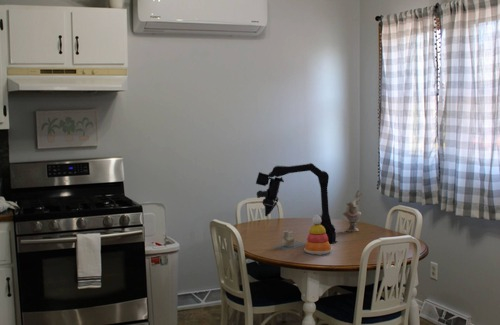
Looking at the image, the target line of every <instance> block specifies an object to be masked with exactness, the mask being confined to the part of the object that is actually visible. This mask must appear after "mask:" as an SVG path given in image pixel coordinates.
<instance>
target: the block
mask: <svg viewBox="0 0 500 325" xmlns="http://www.w3.org/2000/svg"><path fill="white" fill-rule="evenodd" d="M294 232H295V231H291V230H282V245H283V246H284V247H289V248H290V247H294V242H295V233H294Z"/></svg>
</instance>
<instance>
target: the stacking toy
mask: <svg viewBox="0 0 500 325" xmlns="http://www.w3.org/2000/svg"><path fill="white" fill-rule="evenodd" d="M319 215H320V214H319ZM319 215H318V214H314V216H313V217H312V223H313V224H312V225H311V226H310V228H309V230H308V235H307V239H306V240H307V242H305V243H306V245H305V247H304V248H303V249H304V251H305V253H306V254H307V253H308V254H310V255H318V256H322V255H326V254H329V253H331V252H332V250H333V248H332V246H331V244H330V243H329V242H328V236H327V234H326V230H325V228H324V227H323V226H322V225H320V223H321V221H322V220H321V217H320V216H319Z"/></svg>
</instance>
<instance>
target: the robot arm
mask: <svg viewBox="0 0 500 325" xmlns="http://www.w3.org/2000/svg"><path fill="white" fill-rule="evenodd" d="M302 172H311V173H313V174H314V175H315V176H316V177H317V180H318V184H319V188H320V189H319V190H320V202H321V215H320V214H319V216H320V217H321V220H322V221H321V223H320V225H322V226H323V227H324V228H325V230H326V234H327V236H328V242H329V243H330V245H331V244H332V245H333V244H335V243H336V244H337V243H338V241H337V239H336V237H337V236H336V234H337V233H336V232H337V231H336V227H335V226H334V224H332V220H331V216H330V211H329V196H328V195H329V194H328V193H329V192H328V185H329V179H330V177H329V173H328V172H327V171H325V170H321V169H320V168H318V167H317V166H316V165H315V164H314V163H313V162H309V163H304V164H296V165H288V166H287V165H274V167H273V168H272V171H270V172H269V173H268V174H267V173H263V172H262V171H261V172H260V171H259V172H258V175H257V177H256V180H255V181H256V182H255V185H258V186H264V187H266V186H267V185H268V188H267V189H266V190H262V189H261V190H258V191H256V198H257V199H259V198H263V199H262V205H263V206H264V216H265V217H268V216H269V215H270V214H271V213H272V212H273V209H274V208H275V207H276V205H277V204H278V202H279V200H280V198H279V197H278V193H279V190H280V184H281V183H284V182H285V180H284V178H283V177H282V176H285V175H288V174H294V173H302Z"/></svg>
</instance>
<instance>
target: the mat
mask: <svg viewBox="0 0 500 325" xmlns="http://www.w3.org/2000/svg"><path fill="white" fill-rule="evenodd" d="M306 243H307V242H303V241H298V240H294V247H290V248H289V247H284V246H283V244H278V245H275V246H272V248H274V249H277V250H278V249H279V250H282V251H288V250H289V251H290V250H293V249H296V248H302V247H304V246H306Z"/></svg>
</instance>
